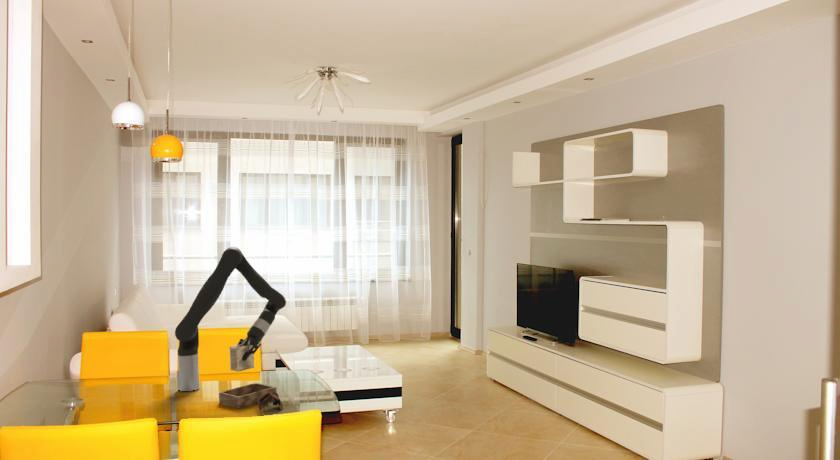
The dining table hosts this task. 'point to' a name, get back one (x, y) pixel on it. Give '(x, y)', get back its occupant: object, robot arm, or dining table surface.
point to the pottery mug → (270, 400)
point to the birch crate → (240, 358)
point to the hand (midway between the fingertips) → (239, 359)
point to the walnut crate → (245, 395)
